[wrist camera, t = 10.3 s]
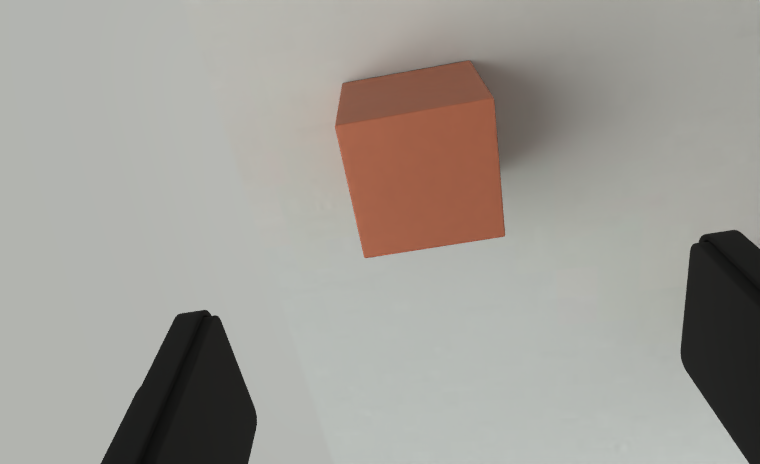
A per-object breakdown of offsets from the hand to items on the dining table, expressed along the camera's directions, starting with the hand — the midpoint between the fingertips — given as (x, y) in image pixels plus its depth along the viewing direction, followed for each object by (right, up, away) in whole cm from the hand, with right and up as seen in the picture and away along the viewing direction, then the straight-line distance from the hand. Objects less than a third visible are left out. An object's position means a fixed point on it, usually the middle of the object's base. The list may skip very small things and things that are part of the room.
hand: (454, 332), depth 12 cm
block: (0, +6, +10) cm, 11 cm away
